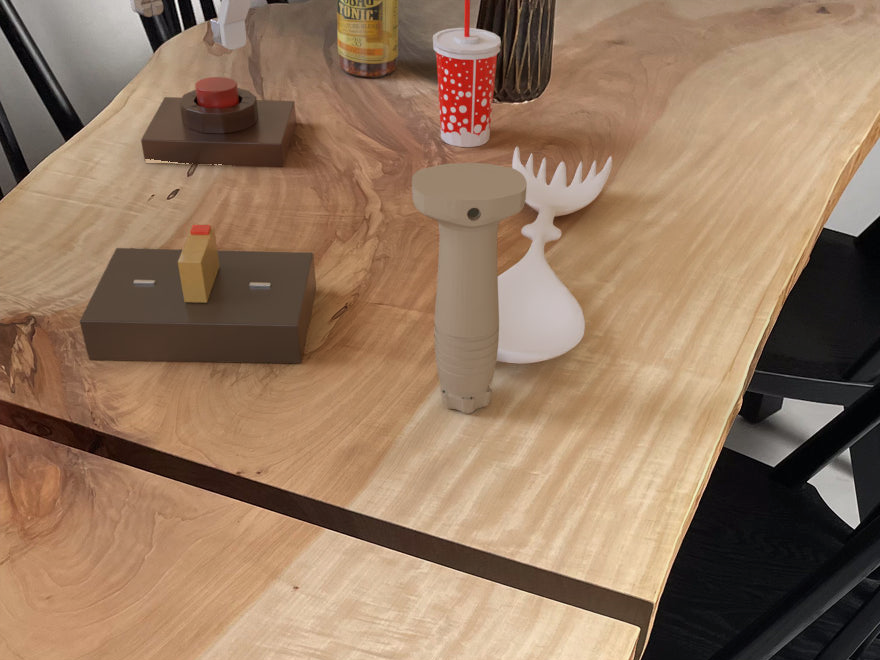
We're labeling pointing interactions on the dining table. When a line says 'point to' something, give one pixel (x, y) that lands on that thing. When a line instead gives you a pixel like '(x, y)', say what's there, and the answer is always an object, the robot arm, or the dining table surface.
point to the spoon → (543, 270)
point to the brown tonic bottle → (367, 36)
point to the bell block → (221, 132)
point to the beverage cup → (466, 82)
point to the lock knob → (198, 264)
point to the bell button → (217, 92)
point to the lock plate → (201, 309)
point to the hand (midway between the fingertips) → (188, 29)
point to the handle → (467, 271)
